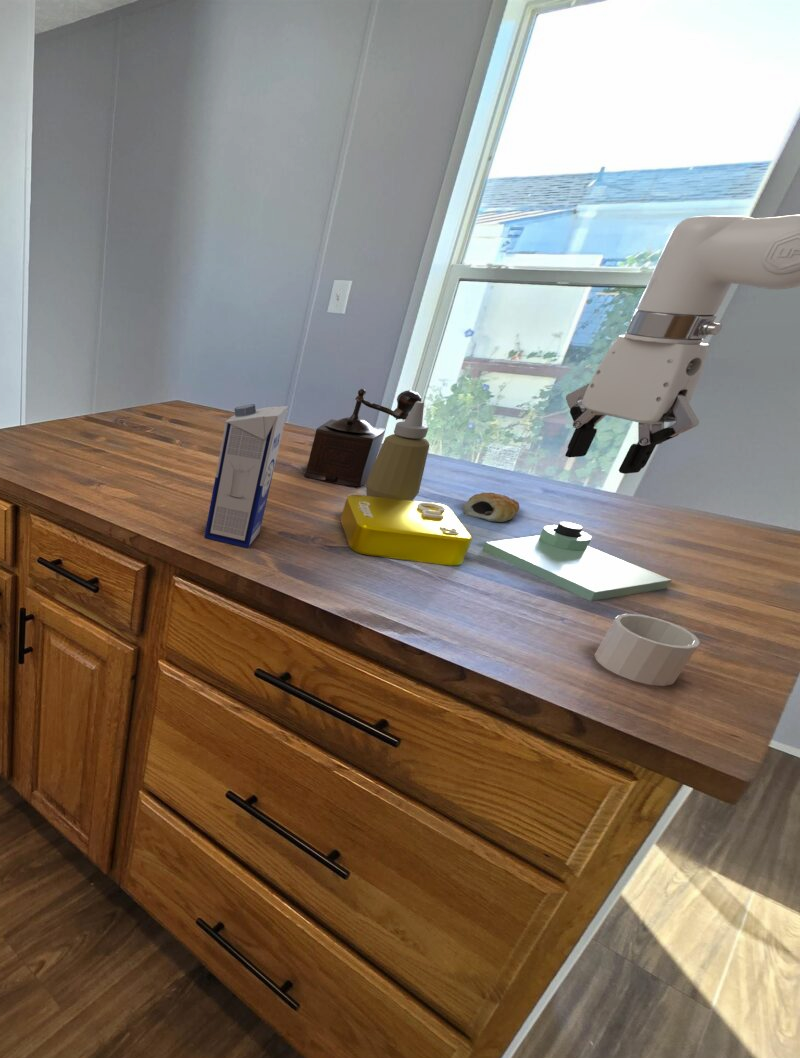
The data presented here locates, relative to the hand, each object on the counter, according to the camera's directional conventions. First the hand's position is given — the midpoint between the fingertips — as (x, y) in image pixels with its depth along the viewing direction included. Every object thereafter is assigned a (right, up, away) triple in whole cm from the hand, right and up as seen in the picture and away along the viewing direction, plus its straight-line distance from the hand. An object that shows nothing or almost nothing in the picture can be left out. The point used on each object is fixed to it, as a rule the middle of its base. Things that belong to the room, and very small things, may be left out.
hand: (601, 463), depth 92 cm
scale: (-3, -15, +2) cm, 15 cm away
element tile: (-23, -10, +9) cm, 27 cm away
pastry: (-2, -5, +19) cm, 20 cm away
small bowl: (-16, -27, -21) cm, 38 cm away
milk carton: (-49, -9, +10) cm, 51 cm away
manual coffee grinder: (-17, +4, +34) cm, 38 cm away
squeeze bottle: (-18, -3, +21) cm, 28 cm away
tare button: (0, -10, +5) cm, 11 cm away
